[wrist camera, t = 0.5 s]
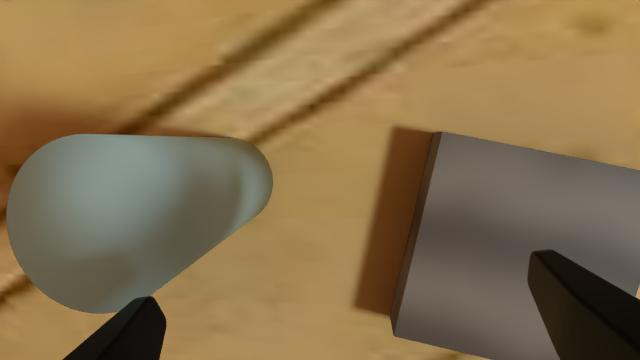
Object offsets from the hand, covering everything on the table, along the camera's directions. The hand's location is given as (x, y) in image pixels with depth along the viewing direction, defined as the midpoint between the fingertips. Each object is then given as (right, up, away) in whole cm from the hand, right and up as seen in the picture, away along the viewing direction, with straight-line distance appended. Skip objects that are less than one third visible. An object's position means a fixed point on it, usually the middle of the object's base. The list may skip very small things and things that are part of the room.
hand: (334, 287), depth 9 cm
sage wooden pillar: (-6, +2, +15) cm, 17 cm away
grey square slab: (+11, -2, +14) cm, 18 cm away
